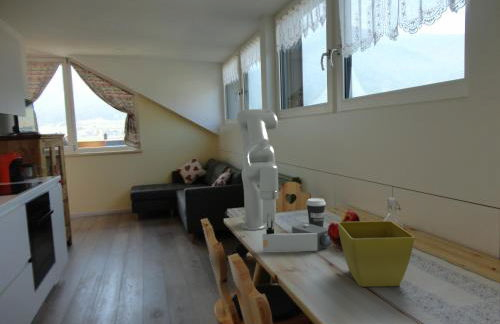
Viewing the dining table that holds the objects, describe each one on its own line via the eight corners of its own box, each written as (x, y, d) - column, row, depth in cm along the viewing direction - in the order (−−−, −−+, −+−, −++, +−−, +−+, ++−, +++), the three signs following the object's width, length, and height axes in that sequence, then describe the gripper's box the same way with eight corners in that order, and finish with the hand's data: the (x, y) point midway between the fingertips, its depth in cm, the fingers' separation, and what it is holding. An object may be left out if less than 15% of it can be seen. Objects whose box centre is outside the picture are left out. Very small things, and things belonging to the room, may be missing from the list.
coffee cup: (304, 231, 163) (303, 201, 161) (308, 226, 172) (308, 197, 170) (324, 233, 159) (324, 202, 158) (327, 227, 168) (327, 198, 167)
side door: (317, 249, 137) (316, 233, 136) (317, 251, 135) (317, 234, 134) (263, 250, 138) (262, 234, 137) (263, 252, 136) (262, 235, 136)
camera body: (292, 242, 148) (291, 225, 148) (306, 237, 154) (306, 221, 153) (320, 251, 136) (319, 233, 135) (334, 246, 141) (334, 228, 141)
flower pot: (337, 266, 121) (337, 221, 119) (390, 265, 120) (391, 220, 119) (351, 292, 102) (351, 238, 100) (415, 291, 101) (416, 237, 100)
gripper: (261, 191, 145) (262, 232, 147) (258, 198, 131) (260, 244, 132) (278, 191, 145) (279, 232, 146) (278, 198, 130) (279, 244, 132)
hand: (270, 238), depth 139 cm, fingers closed
